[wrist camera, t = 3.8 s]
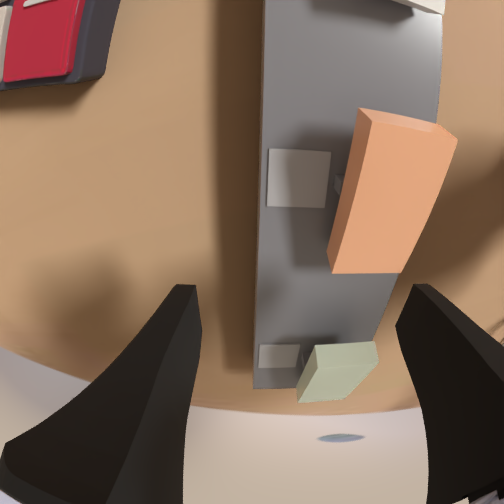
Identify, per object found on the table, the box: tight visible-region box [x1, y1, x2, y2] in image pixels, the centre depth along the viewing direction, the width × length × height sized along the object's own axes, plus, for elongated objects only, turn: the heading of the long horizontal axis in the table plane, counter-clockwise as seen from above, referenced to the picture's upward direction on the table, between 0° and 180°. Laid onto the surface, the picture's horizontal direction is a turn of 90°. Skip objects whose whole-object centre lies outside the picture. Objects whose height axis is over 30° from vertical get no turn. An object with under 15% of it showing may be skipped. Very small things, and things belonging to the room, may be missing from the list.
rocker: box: [296, 341, 379, 403], centre depth 17 cm, size 4×7×1 cm, turn 179°
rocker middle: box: [326, 107, 458, 274], centre depth 11 cm, size 4×7×1 cm, turn 179°
